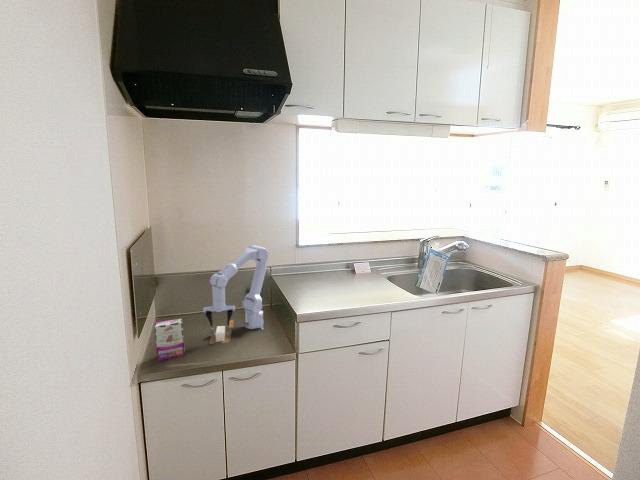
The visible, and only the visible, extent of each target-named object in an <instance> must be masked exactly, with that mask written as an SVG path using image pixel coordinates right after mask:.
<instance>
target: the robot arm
mask: <svg viewBox="0 0 640 480" xmlns="http://www.w3.org/2000/svg"><path fill="white" fill-rule="evenodd" d="M269 254H270V252H269V250H268V249H267V248H266V247H263V246H259V245H256V244H251V245H249V246H248V247H246V248H245V251H244V252H243V253H242V254H241V255H240V256H239V257H238V258H237V259H235V261H234V262H233V263H227V264H226V265H225V266H224V267H223V268H222V269H221V270H219V271H218V272H217V273H213V274H212V275H211V276H210V280H209V284H210V285H211V288H212V305H210V306H205V307H203V308H202V310H203V311H202V312H203V313H204V314H205V316H206V318H207V319H208V322H209V324H210V327H213V323H214V321H213V312H216V313H221V312H226V311H227V312H226V314H227V315H226V317H227V323H226V325H227V326H229V321H230V320H231V318H232V315H233V314H234V312H235V311H236V305H227V304H226V286H227V285H228V282H229V280H230V279H231V278H232V277H234V276H235V275H236V274H237V273H238V270H239V268H240V267H242V266H243V265H245V264H246V263H247V262H249V261H250V260H252V261H253V260H254V262H255V263H256V265H255V269H254V274H253V277H252V282H251V284H250V285H251V286H250V289H249V292H248V293H247V294H245V295H244V296H245V297H244V299H243V300H242V302H241V304H242V305H241V306H242V308H243V309H244V313H245V321H244V323H247V322H249V326H247V327H245V328H246V329H249V330H254V329H255V330H256V329H261V330H262V331H263V330H264V323H265V322H264V311H263V310H262V308H263V303H262V302H263V299H262V296H261V291H262V288H263V283H264V281H265V275H266V273H267V272H266V271H267V267H268V263H269V260H268V258H269Z"/></svg>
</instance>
